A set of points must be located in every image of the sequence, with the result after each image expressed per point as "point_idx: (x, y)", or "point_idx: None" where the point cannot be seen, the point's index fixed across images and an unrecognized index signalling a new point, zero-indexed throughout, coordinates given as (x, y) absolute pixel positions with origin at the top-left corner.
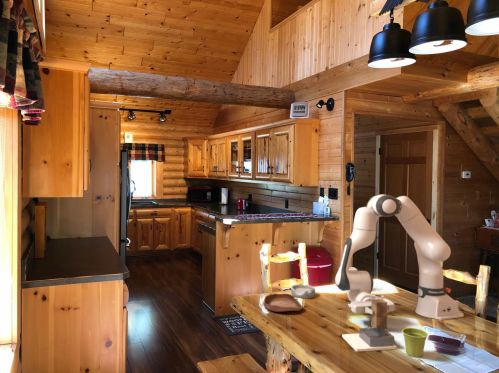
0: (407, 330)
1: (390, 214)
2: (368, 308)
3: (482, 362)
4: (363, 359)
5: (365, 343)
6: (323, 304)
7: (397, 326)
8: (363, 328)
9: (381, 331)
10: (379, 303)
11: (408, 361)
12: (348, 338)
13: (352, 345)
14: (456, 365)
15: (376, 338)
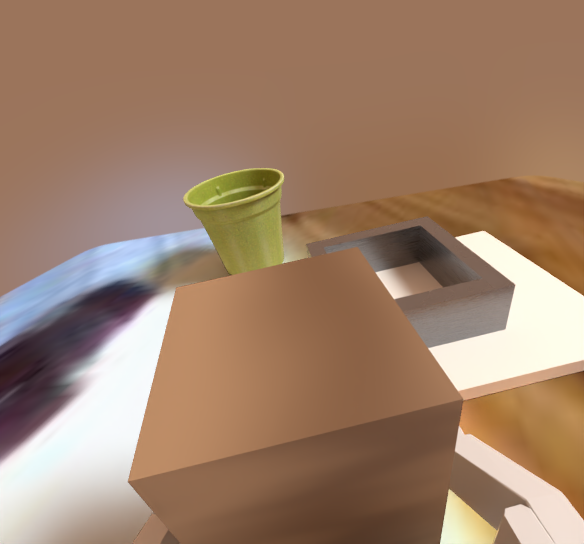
0: (244, 208)
1: None
2: (504, 481)
3: (87, 261)
4: (445, 214)
5: None
6: None
7: None
8: (483, 290)
9: None
10: (309, 266)
11: (299, 230)
12: (568, 299)
13: (513, 252)
14: (175, 239)
15: (395, 226)
